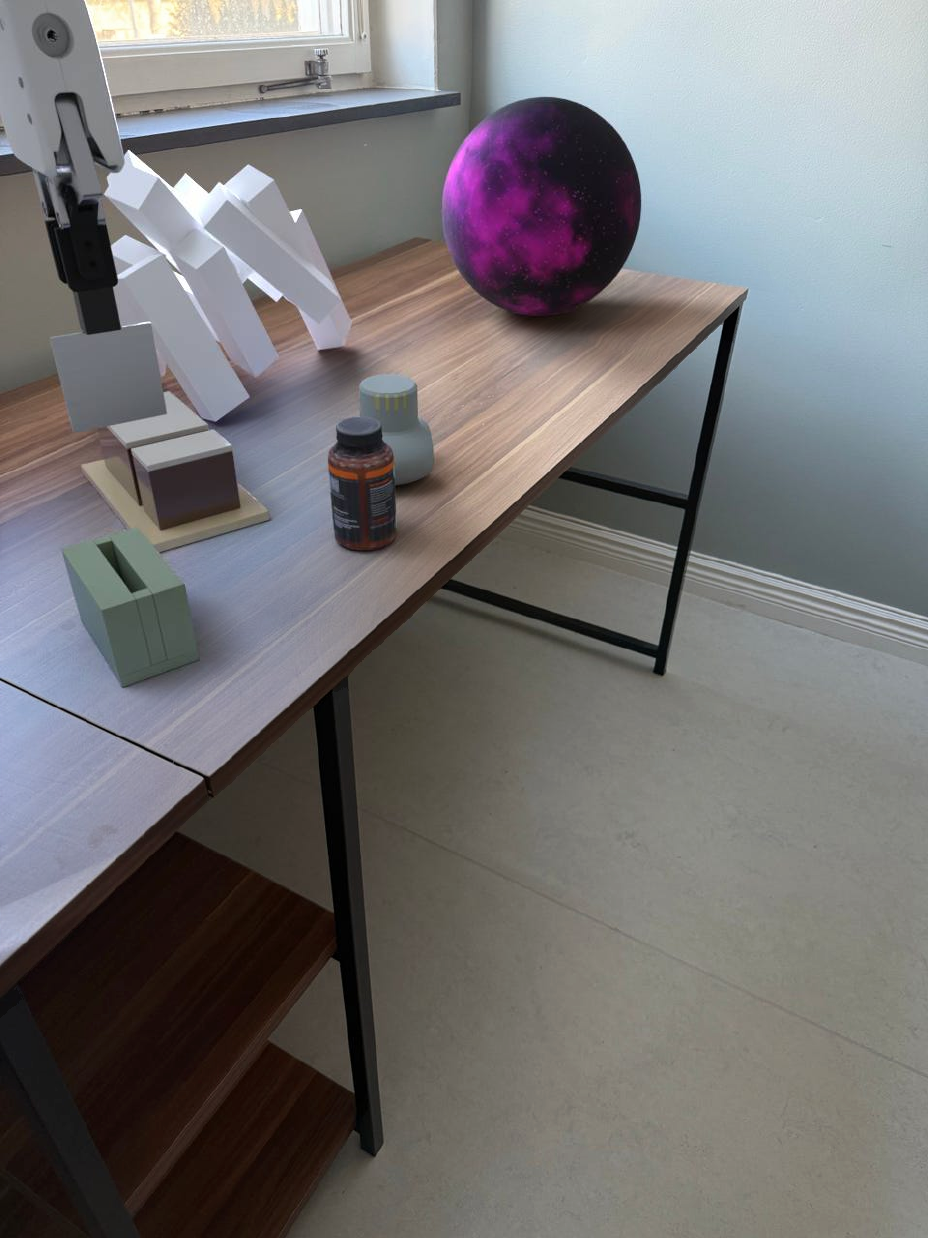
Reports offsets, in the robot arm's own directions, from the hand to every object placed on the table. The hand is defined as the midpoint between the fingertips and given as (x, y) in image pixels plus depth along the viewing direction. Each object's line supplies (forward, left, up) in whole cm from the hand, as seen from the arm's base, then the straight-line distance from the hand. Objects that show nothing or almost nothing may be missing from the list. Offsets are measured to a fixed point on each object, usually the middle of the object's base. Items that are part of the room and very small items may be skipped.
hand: (89, 282), depth 61 cm
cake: (+7, +16, -26) cm, 31 cm away
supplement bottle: (+19, -2, -26) cm, 32 cm away
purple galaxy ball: (+78, +45, -26) cm, 94 cm away
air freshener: (+28, +8, -26) cm, 39 cm away
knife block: (-4, -6, -26) cm, 26 cm away
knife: (0, 0, -10) cm, 10 cm away
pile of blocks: (+26, +43, -26) cm, 57 cm away
